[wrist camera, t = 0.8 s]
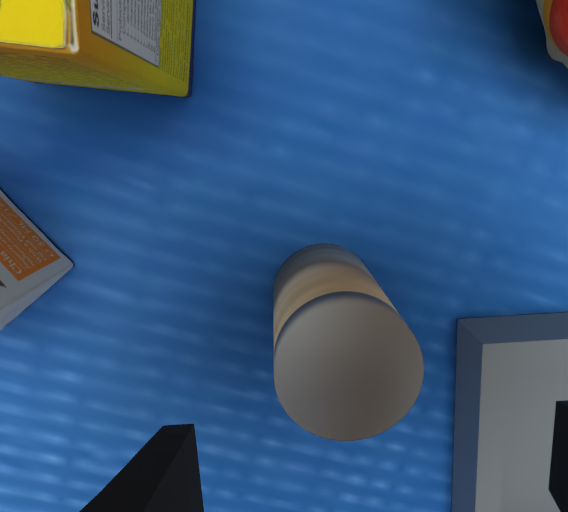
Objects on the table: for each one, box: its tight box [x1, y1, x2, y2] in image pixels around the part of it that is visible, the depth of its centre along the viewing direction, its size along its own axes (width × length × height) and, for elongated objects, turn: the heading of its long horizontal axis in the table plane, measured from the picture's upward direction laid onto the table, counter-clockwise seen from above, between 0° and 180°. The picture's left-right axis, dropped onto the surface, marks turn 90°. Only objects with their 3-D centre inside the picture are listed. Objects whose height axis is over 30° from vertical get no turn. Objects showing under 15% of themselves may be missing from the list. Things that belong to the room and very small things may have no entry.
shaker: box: [273, 244, 424, 441], centre depth 16 cm, size 4×4×7 cm
